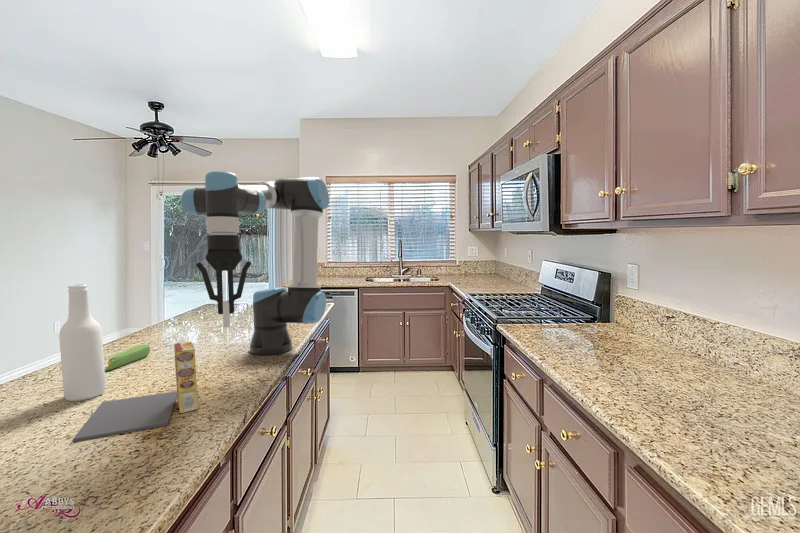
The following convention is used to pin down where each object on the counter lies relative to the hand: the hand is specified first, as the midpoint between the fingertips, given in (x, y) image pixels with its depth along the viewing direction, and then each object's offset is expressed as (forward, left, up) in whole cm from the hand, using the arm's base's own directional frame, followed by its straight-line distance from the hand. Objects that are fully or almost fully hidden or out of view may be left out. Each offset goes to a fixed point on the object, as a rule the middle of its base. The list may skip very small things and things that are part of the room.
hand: (226, 326), depth 100 cm
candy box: (+10, 0, -20) cm, 22 cm away
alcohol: (+36, -19, -20) cm, 45 cm away
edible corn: (+33, -48, -20) cm, 61 cm away
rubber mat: (+21, 0, -19) cm, 29 cm away
